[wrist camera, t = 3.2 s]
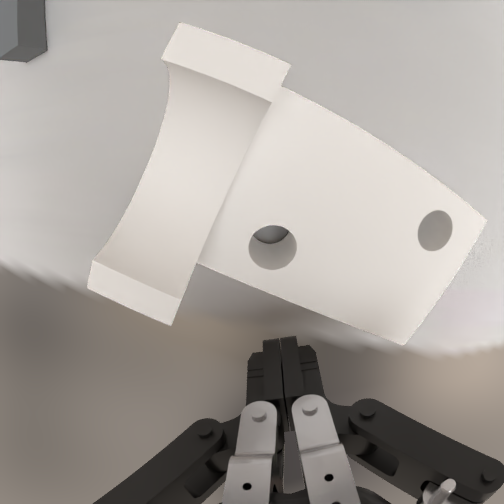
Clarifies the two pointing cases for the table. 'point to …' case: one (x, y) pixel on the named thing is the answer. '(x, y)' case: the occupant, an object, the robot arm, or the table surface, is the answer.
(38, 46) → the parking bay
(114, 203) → the table surface
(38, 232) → the table surface
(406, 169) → the bracket
